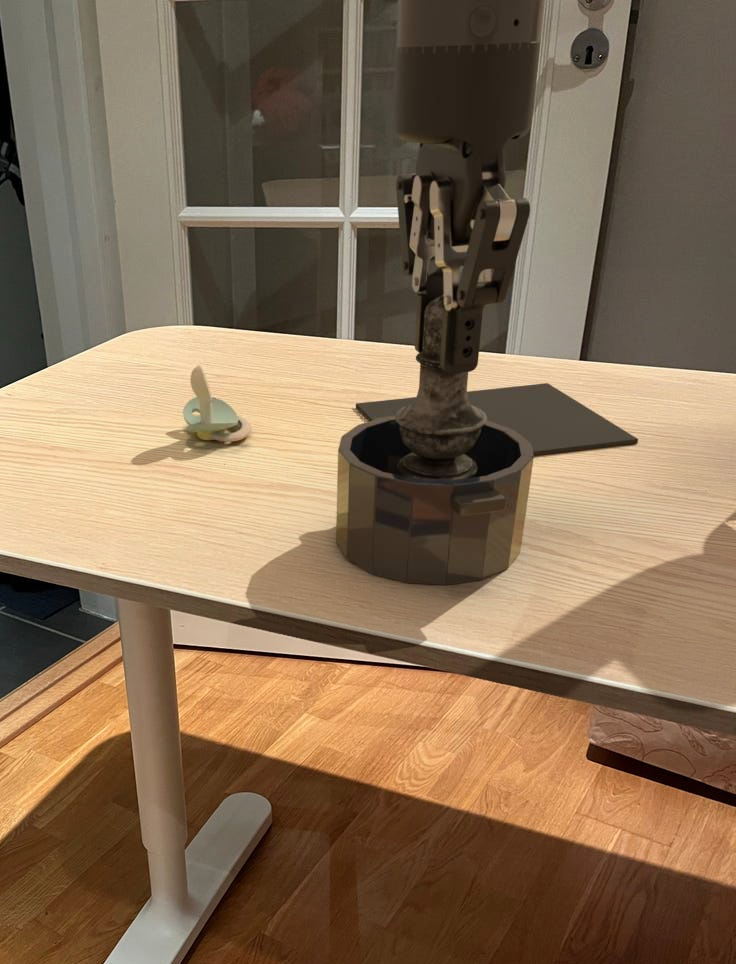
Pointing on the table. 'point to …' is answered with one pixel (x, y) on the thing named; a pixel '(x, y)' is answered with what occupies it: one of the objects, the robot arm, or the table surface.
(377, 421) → the pot
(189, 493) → the table surface
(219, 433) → the pacifier
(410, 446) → the salt shaker
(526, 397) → the mat
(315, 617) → the table surface
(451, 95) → the robot arm
